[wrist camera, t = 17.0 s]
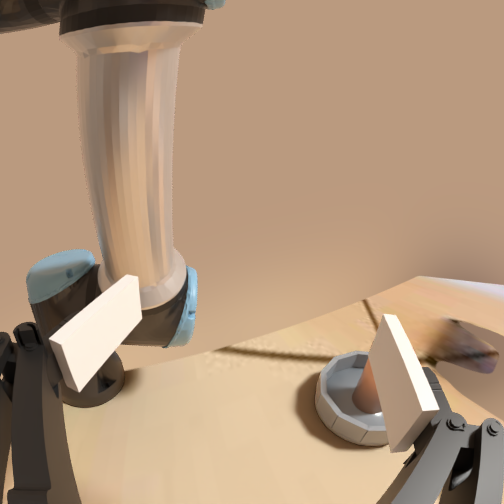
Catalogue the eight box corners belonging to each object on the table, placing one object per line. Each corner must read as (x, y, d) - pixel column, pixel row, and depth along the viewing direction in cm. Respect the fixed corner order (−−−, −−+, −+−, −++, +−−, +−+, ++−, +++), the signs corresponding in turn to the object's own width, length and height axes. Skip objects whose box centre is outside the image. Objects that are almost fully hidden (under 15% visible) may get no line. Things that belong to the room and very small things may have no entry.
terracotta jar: (342, 392, 44) (363, 339, 40) (372, 381, 47) (395, 329, 43) (365, 420, 38) (394, 367, 34) (396, 405, 40) (424, 353, 36)
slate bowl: (295, 382, 48) (300, 365, 47) (374, 358, 55) (381, 342, 54) (352, 464, 31) (363, 449, 29) (433, 416, 38) (444, 400, 36)
